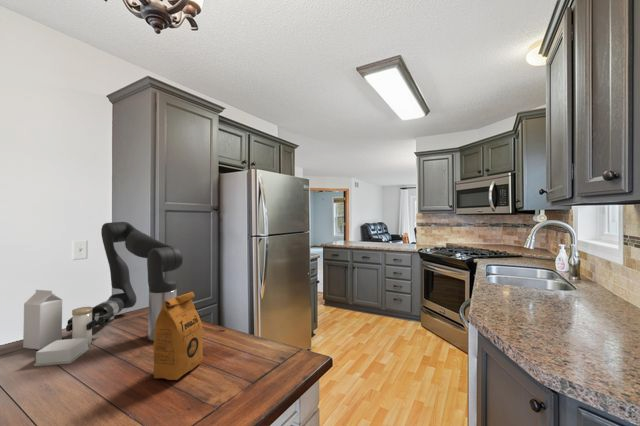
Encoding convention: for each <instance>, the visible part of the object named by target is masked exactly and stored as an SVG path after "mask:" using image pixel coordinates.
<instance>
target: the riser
mask: <svg viewBox="0 0 640 426" xmlns="http://www.w3.org/2000/svg"><path fill="white" fill-rule="evenodd" d="M88 346H89V345H88V338H78V339H72V338H68V339H67V338H66V339H62V340H56V341H54V342H52V343H51V344H49V345H47V346H46V347H44V348H42V349H38V351H36V352H35V363H34V364H33V367H42V366H53V365H55V366H56V365H64V364H66V365H67V364H72V363H73V362H74V361H76V360H77V359H78V358H80V357H81V356H82V355H83V354H85V353H86V352H87V351H90V348H89V347H88Z"/></svg>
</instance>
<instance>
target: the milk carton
mask: <svg viewBox="0 0 640 426" xmlns="http://www.w3.org/2000/svg"><path fill="white" fill-rule="evenodd" d="M62 329H63V299H62V298H61V297H59V296H58V295H56V293H55V292H53V290H48V289H35V293H34V294H33V295H32V296H30V297H29V299H27V301H25V302H24V303H23V333H22V334H23V336H22V337H23V339H22V340H23V341H22V342H23V343H22V345H23V346H22V347H23V348H24V349H32V350H41V349H42V348H44V347H46V346H47V345H49V344H51V343H52V342H54V341H56V340H63V339H62V336H63V335H62V334H63V330H62Z"/></svg>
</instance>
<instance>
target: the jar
mask: <svg viewBox="0 0 640 426" xmlns="http://www.w3.org/2000/svg"><path fill="white" fill-rule="evenodd" d="M93 307H94V306H93ZM93 307H92V306H82V307H76V308H75V309H72V310H71V315H72V317H71V318H72V330H71V331H72V332H71V339H78V338H88V345H87V346H89V345H90V344H92V341H93V339H92V338H93V328H92V329H90V330H87V324H88V323H90V322H91V321H92V311H93Z"/></svg>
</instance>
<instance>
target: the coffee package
mask: <svg viewBox="0 0 640 426" xmlns="http://www.w3.org/2000/svg"><path fill="white" fill-rule="evenodd" d="M195 297H196V296H195V293H194V291H190V292H188V293H184V294H182V295H177V296H176V297H174V298H172V299H170V300H167V301H165V302H164V304H163V307H162V309H161V311H160V313H159V315H158V317H157V320H156V324H155V331H154V341H153V378H154V379H165V380H168V381H178V380H179V379H180V378H182V376H184V375H185V374H187V373H188V372H190V371H192V370H194V369H195V368H196V367H197V366H198V365H200V364H201V363H202V361H203V359H204V357H203V355H204V354H203V333H204V330H203V329H204V327H203V323H202V319H201V318H200V315H199V314H198V311H197V310H196V307H195V304H194V301H193V300H192V299H194V298H195Z"/></svg>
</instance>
